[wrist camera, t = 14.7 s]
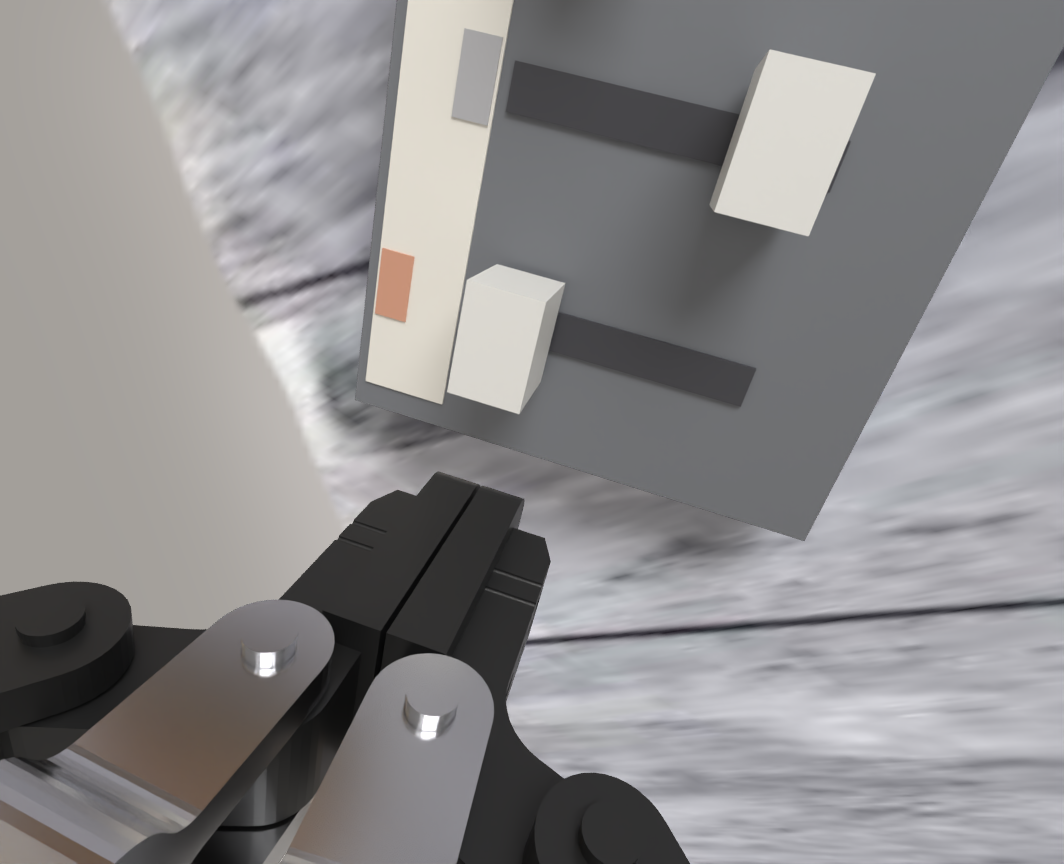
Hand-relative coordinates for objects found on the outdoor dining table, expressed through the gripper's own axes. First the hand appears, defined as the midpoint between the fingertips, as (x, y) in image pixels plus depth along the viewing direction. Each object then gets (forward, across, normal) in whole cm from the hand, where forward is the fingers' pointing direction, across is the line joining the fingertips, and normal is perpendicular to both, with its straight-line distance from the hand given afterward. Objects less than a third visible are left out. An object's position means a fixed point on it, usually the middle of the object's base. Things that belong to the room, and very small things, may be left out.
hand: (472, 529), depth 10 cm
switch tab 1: (+12, +2, 0) cm, 12 cm away
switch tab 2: (+12, -4, -7) cm, 14 cm away
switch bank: (+16, -1, -7) cm, 18 cm away
